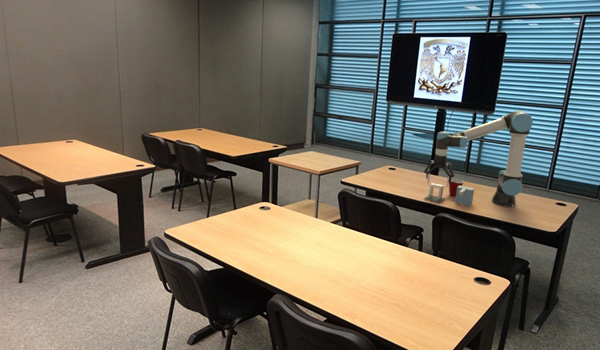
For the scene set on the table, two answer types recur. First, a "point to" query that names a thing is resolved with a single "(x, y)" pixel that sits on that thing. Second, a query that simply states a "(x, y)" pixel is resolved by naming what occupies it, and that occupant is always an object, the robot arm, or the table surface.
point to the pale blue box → (436, 187)
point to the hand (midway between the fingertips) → (437, 184)
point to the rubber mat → (434, 199)
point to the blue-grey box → (464, 195)
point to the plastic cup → (454, 186)
